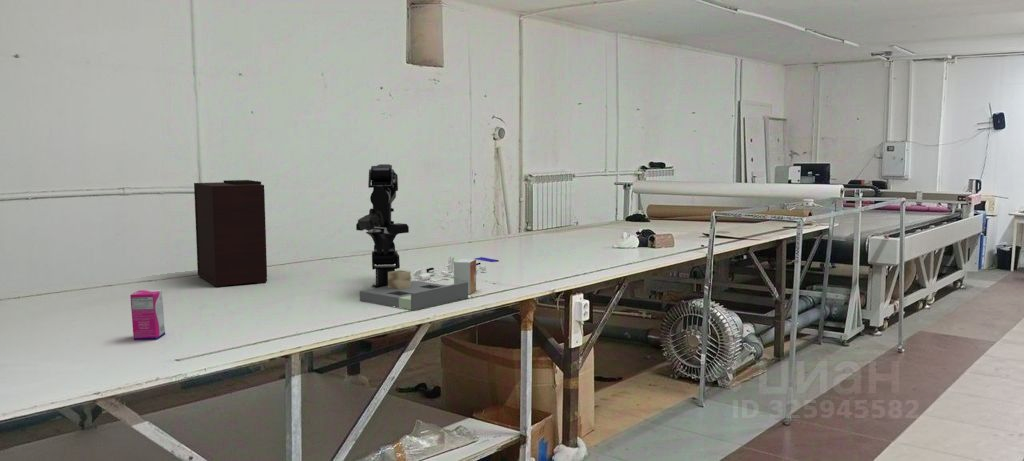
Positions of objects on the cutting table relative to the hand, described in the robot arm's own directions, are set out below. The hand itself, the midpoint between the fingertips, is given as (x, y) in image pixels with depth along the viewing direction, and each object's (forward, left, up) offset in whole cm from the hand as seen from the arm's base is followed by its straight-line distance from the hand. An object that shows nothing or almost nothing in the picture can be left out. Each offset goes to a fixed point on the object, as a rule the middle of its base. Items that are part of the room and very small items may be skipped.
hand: (382, 254), depth 246 cm
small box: (+18, +19, -13) cm, 30 cm away
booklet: (-24, +70, -14) cm, 75 cm away
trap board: (+13, 0, -13) cm, 19 cm away
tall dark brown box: (-62, -14, -13) cm, 64 cm away
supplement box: (-4, -75, -13) cm, 76 cm away
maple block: (+7, 0, -10) cm, 12 cm away
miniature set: (-7, +40, -14) cm, 43 cm away
